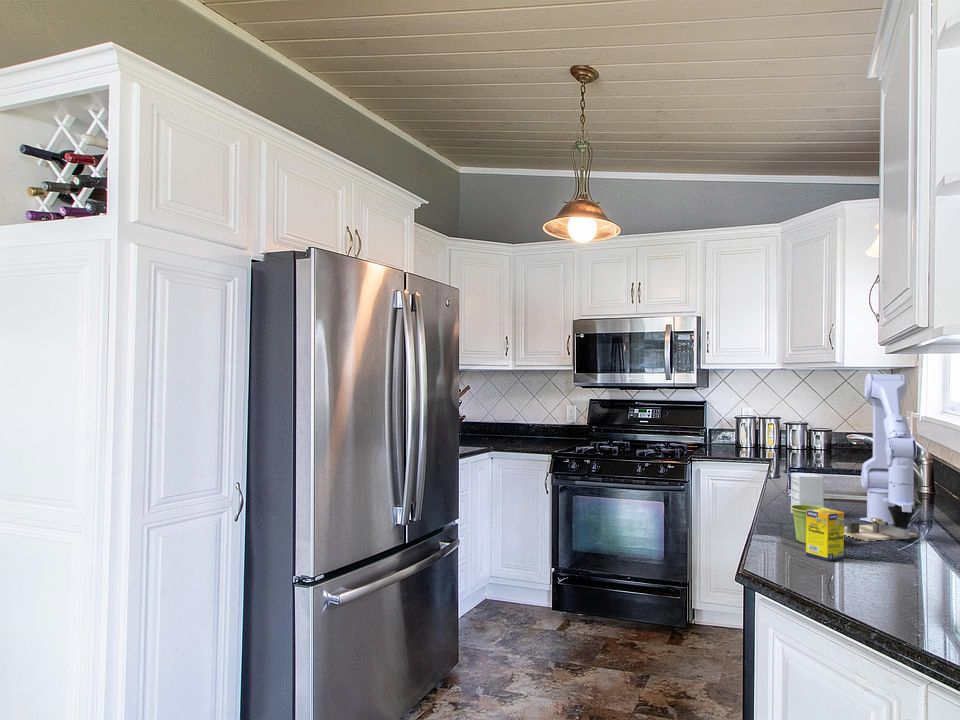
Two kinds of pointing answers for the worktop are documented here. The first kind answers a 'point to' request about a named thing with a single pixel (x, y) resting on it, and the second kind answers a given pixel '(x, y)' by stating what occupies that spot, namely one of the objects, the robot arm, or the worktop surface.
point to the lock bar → (891, 529)
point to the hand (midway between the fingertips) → (900, 534)
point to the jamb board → (869, 532)
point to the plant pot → (801, 520)
